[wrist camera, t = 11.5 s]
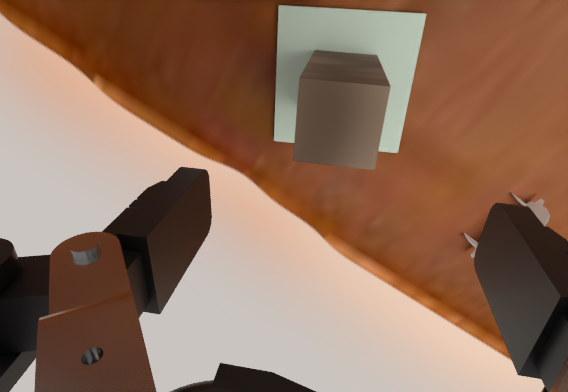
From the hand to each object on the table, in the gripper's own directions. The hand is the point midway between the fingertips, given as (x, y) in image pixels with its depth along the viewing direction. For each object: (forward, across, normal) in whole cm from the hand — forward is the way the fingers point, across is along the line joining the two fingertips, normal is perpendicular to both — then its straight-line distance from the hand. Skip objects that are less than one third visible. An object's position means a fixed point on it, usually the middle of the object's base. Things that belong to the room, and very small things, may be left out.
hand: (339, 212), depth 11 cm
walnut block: (+17, 0, 0) cm, 17 cm away
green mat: (+17, 0, 0) cm, 17 cm away
